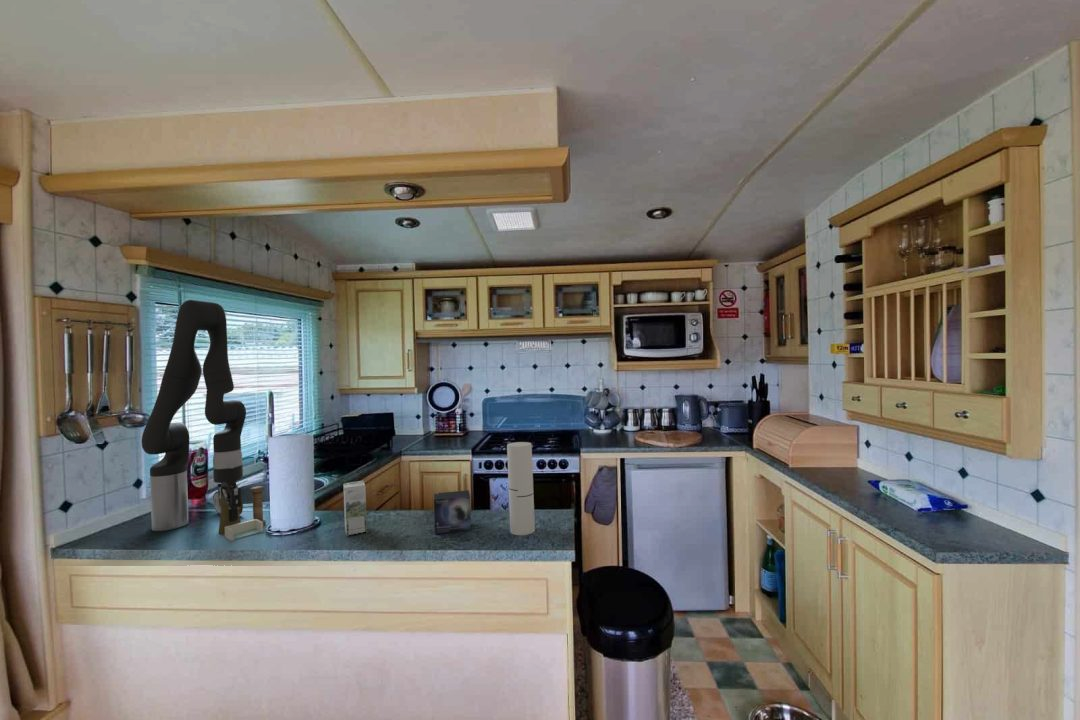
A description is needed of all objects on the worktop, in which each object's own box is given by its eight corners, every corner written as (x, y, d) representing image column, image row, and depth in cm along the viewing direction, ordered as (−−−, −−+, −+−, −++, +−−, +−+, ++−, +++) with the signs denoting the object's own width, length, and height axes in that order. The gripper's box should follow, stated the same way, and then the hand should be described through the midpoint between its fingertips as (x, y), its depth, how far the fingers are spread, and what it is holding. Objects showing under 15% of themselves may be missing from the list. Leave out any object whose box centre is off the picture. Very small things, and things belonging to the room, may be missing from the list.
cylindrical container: (517, 524, 135) (514, 441, 136) (539, 527, 132) (535, 442, 132) (505, 533, 129) (502, 445, 129) (527, 536, 126) (524, 447, 126)
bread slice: (244, 516, 154) (243, 491, 154) (234, 519, 151) (233, 494, 151) (221, 510, 161) (220, 487, 161) (211, 513, 158) (210, 489, 158)
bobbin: (249, 526, 144) (247, 488, 144) (263, 522, 147) (261, 485, 147) (253, 528, 141) (252, 490, 141) (267, 524, 144) (266, 487, 144)
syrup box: (364, 526, 139) (363, 479, 139) (367, 533, 134) (365, 484, 134) (344, 530, 136) (343, 482, 136) (346, 537, 131) (344, 487, 131)
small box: (434, 535, 129) (433, 499, 130) (434, 527, 136) (433, 493, 136) (471, 531, 132) (470, 495, 132) (469, 523, 138) (468, 489, 138)
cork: (229, 534, 137) (228, 498, 137) (213, 533, 138) (212, 497, 138) (246, 527, 143) (245, 492, 143) (230, 526, 144) (229, 492, 144)
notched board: (224, 536, 135) (224, 526, 135) (256, 528, 141) (256, 518, 141) (230, 541, 131) (230, 530, 131) (263, 531, 138) (263, 522, 138)
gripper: (206, 464, 142) (208, 518, 142) (220, 470, 133) (222, 527, 133) (234, 460, 148) (236, 511, 148) (249, 465, 139) (251, 519, 138)
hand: (230, 518), depth 140 cm, fingers open, 6 cm apart
